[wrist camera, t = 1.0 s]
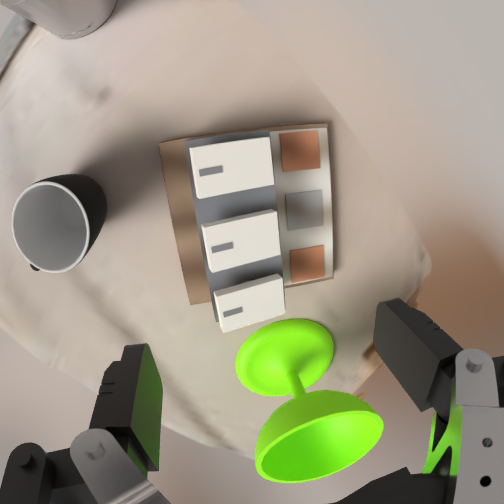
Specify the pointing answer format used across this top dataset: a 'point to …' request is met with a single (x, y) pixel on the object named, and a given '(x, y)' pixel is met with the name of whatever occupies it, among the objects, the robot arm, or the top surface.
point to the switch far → (250, 302)
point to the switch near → (231, 166)
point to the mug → (58, 221)
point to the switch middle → (241, 239)
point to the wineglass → (303, 405)
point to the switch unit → (257, 209)
